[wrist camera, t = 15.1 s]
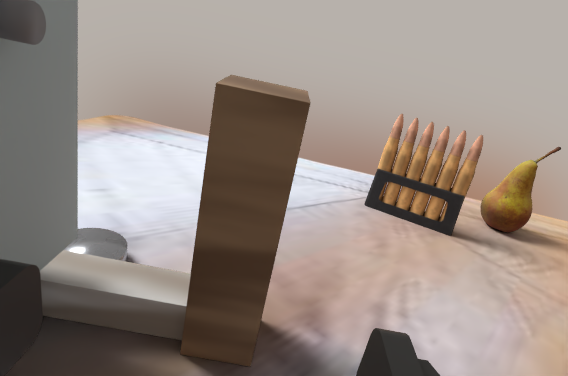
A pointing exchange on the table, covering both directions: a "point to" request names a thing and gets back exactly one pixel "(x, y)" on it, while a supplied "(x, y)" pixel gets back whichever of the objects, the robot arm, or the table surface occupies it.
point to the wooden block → (204, 237)
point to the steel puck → (99, 243)
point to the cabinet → (38, 129)
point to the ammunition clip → (423, 178)
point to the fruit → (512, 198)
